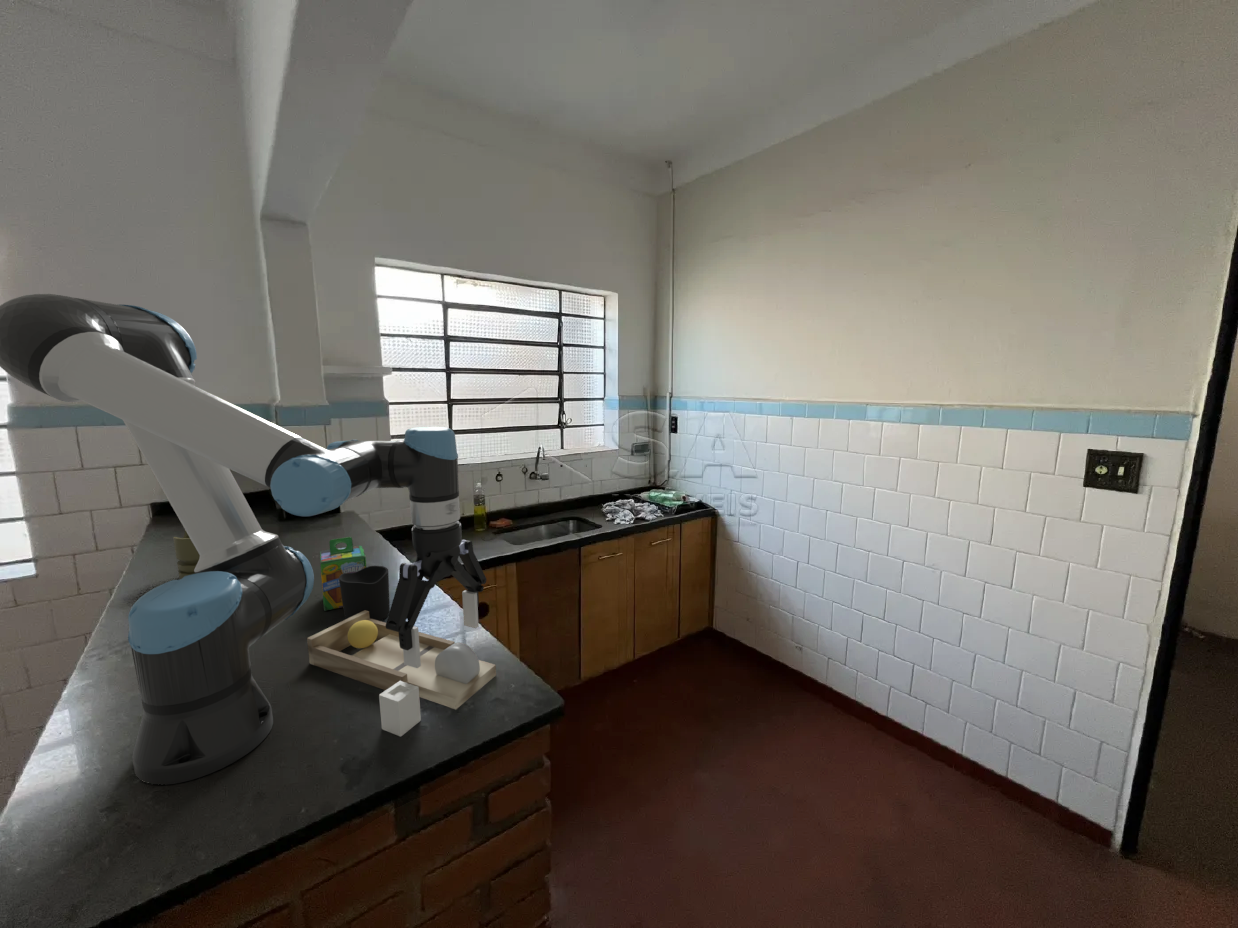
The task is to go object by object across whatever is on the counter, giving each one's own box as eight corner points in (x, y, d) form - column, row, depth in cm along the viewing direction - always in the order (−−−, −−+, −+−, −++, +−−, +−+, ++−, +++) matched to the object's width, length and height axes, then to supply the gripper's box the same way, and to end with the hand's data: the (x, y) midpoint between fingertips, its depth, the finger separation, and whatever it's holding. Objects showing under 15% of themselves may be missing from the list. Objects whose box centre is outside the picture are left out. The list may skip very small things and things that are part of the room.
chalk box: (324, 612, 109) (317, 548, 107) (323, 597, 117) (317, 537, 115) (370, 602, 114) (364, 541, 112) (366, 588, 122) (361, 531, 119)
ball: (350, 622, 89) (337, 634, 91) (364, 646, 88) (350, 657, 90) (374, 611, 93) (361, 622, 95) (387, 633, 92) (374, 644, 95)
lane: (451, 713, 76) (449, 684, 76) (309, 663, 90) (306, 638, 89) (499, 672, 87) (498, 646, 86) (366, 633, 100) (364, 610, 100)
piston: (163, 540, 121) (186, 527, 131) (170, 587, 123) (193, 570, 133) (218, 536, 124) (237, 524, 135) (224, 581, 126) (242, 565, 137)
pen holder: (384, 625, 103) (380, 581, 102) (336, 629, 102) (331, 583, 100) (396, 605, 113) (393, 564, 111) (352, 608, 111) (348, 566, 109)
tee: (400, 736, 71) (397, 701, 70) (381, 729, 73) (378, 694, 72) (420, 720, 75) (418, 686, 74) (402, 713, 76) (399, 680, 75)
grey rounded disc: (468, 695, 81) (466, 656, 79) (435, 685, 83) (433, 646, 82) (480, 685, 83) (478, 647, 82) (448, 675, 86) (446, 638, 85)
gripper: (389, 550, 67) (400, 691, 70) (503, 507, 89) (507, 616, 93) (351, 542, 70) (364, 678, 73) (470, 503, 92) (475, 609, 96)
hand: (444, 644), depth 83 cm, fingers open, 13 cm apart
